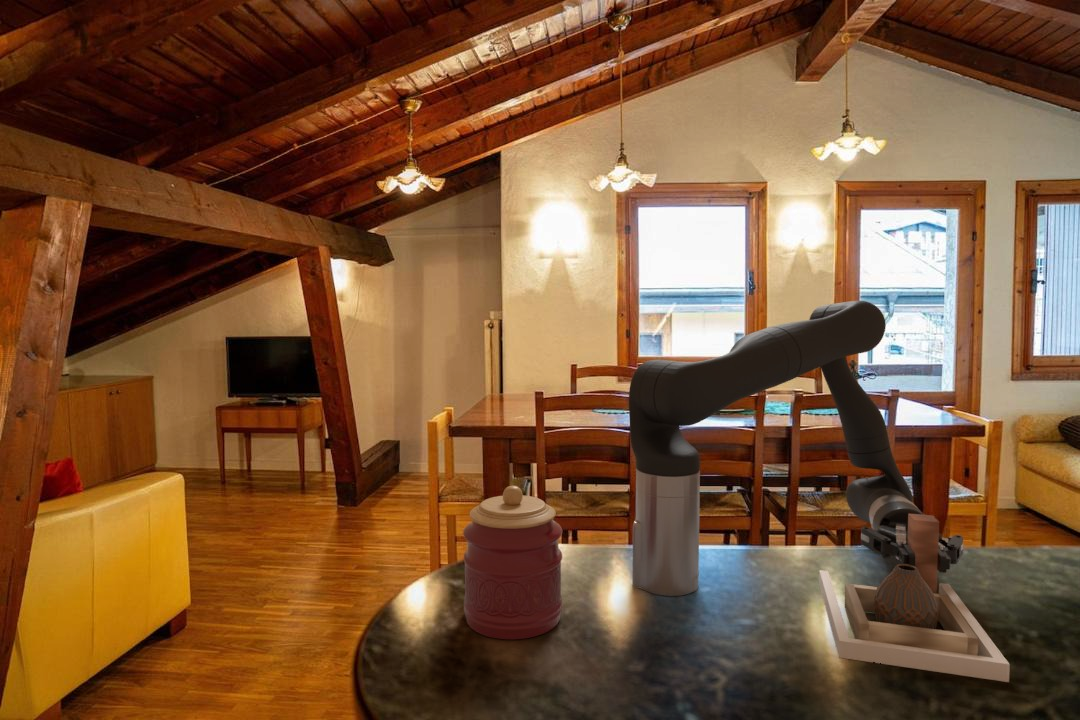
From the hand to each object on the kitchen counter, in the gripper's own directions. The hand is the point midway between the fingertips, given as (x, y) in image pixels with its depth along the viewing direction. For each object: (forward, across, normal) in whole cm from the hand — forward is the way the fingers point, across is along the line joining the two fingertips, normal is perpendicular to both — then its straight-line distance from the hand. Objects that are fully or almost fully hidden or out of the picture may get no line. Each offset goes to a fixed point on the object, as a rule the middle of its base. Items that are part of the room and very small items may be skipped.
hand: (927, 563), depth 85 cm
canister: (+17, -52, +7) cm, 55 cm away
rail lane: (+4, -4, +7) cm, 9 cm away
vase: (+7, -4, +7) cm, 11 cm away
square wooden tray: (+4, -4, +7) cm, 9 cm away
